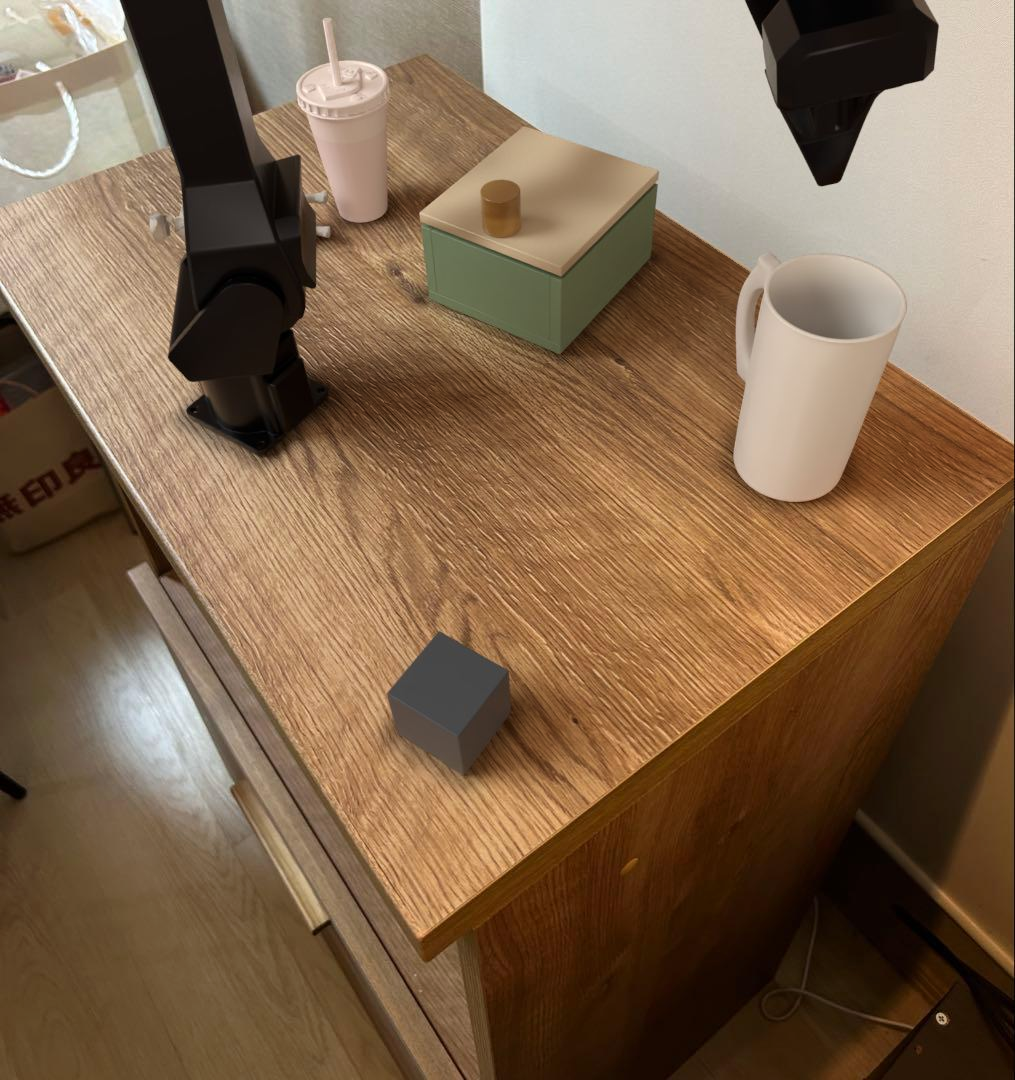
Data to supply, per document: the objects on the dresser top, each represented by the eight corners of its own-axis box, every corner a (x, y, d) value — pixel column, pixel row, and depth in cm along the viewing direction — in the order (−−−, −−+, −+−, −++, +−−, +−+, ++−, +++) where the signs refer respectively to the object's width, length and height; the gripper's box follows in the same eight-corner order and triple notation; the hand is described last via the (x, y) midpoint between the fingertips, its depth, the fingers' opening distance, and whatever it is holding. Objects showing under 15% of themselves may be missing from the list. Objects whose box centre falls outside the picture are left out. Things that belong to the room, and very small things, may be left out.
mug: (871, 482, 56) (937, 315, 46) (771, 523, 54) (819, 359, 45) (769, 374, 62) (810, 206, 52) (677, 408, 60) (702, 241, 50)
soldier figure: (336, 276, 71) (161, 272, 65) (318, 287, 75) (152, 285, 70) (327, 164, 70) (150, 152, 65) (309, 182, 74) (142, 172, 69)
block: (396, 733, 47) (385, 693, 44) (445, 672, 49) (438, 629, 46) (464, 776, 46) (458, 737, 42) (511, 712, 48) (509, 670, 44)
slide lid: (420, 222, 62) (414, 176, 60) (524, 135, 68) (523, 90, 66) (561, 277, 58) (562, 231, 56) (658, 179, 64) (663, 134, 62)
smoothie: (305, 223, 73) (262, 31, 62) (345, 177, 76) (311, -13, 65) (382, 240, 71) (352, 46, 60) (419, 193, 75) (397, 1, 64)
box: (428, 299, 67) (420, 226, 62) (525, 211, 73) (524, 139, 68) (560, 355, 63) (561, 281, 59) (650, 257, 69) (658, 183, 65)
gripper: (1127, -202, 32) (1036, 205, 44) (959, -353, 43) (924, 5, 55) (775, -108, 34) (782, 257, 46) (701, -276, 45) (723, 54, 57)
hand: (810, 131), depth 51 cm, fingers open, 9 cm apart
